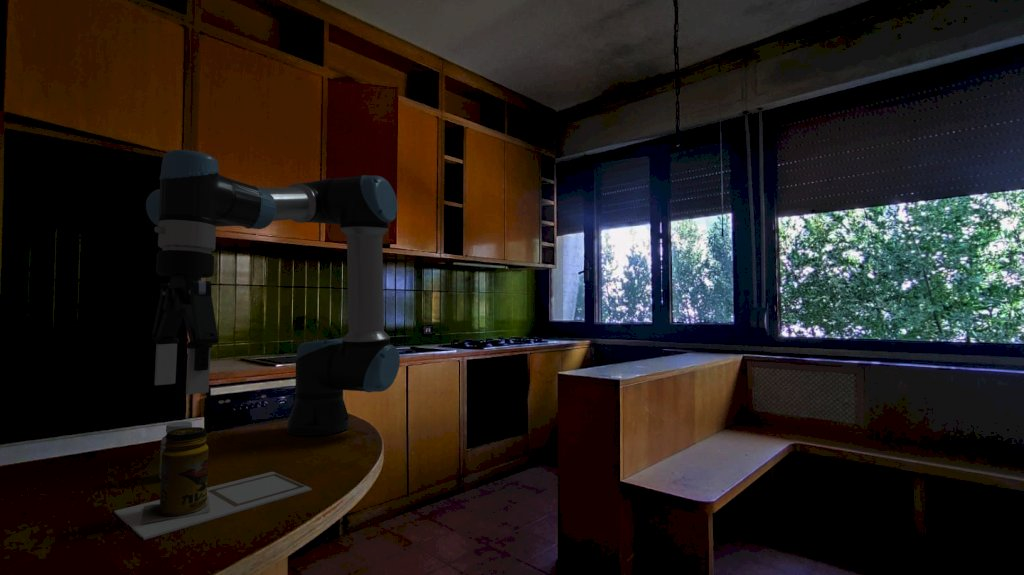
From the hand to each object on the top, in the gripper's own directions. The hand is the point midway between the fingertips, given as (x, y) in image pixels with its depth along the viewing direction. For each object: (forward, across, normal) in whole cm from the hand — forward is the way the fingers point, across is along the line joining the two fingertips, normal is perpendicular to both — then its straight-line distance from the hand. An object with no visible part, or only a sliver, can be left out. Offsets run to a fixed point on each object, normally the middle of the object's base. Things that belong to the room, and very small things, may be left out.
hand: (180, 388), depth 76 cm
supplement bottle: (+19, -19, +6) cm, 28 cm away
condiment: (+19, 0, 0) cm, 19 cm away
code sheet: (+19, 0, +6) cm, 20 cm away
